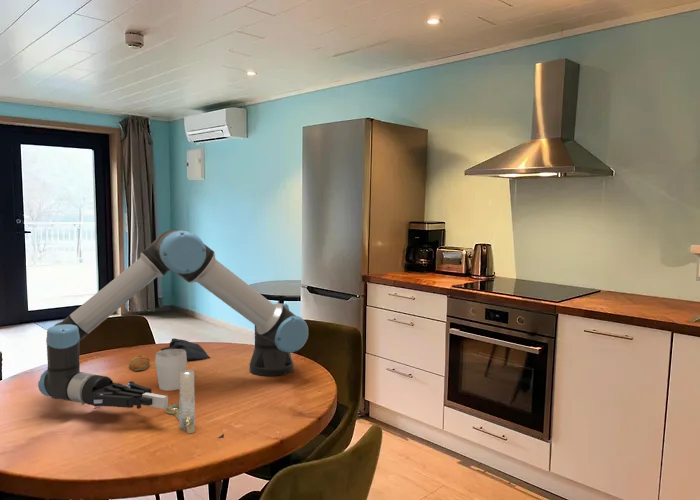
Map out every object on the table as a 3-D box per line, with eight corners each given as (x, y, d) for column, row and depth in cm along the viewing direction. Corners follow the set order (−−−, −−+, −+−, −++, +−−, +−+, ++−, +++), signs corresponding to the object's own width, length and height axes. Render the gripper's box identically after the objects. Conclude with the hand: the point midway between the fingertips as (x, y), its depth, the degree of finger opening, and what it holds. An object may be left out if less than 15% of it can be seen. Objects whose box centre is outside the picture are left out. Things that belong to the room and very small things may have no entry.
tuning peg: (163, 409, 139) (163, 358, 138) (182, 406, 141) (182, 356, 140) (181, 435, 123) (180, 377, 122) (202, 430, 126) (201, 374, 125)
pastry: (150, 371, 177) (150, 360, 176) (128, 373, 174) (128, 362, 174) (149, 363, 185) (149, 353, 185) (129, 365, 183) (128, 355, 182)
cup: (177, 397, 152) (176, 357, 151) (149, 395, 153) (149, 355, 152) (192, 387, 160) (192, 349, 159) (166, 385, 162) (165, 347, 161)
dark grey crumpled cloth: (170, 365, 184) (170, 352, 184) (159, 350, 203) (159, 339, 203) (213, 360, 192) (212, 347, 192) (198, 346, 211) (198, 334, 211)
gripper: (111, 395, 140) (183, 408, 132) (70, 412, 128) (146, 427, 120) (111, 368, 140) (182, 379, 132) (70, 382, 128) (146, 396, 119)
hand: (165, 402), depth 126 cm, fingers closed
